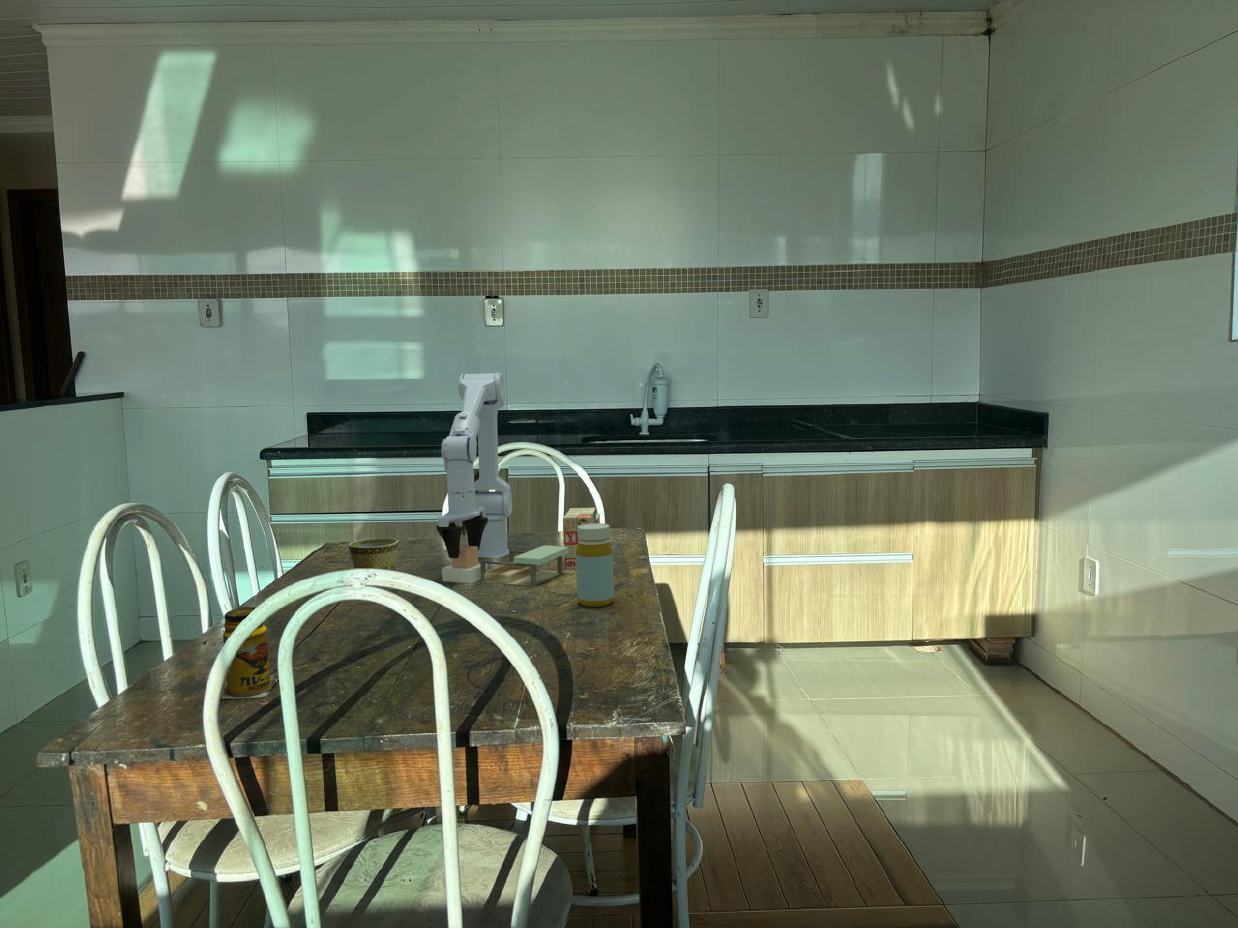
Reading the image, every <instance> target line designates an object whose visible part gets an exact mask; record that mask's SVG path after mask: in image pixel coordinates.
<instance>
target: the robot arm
mask: <svg viewBox="0 0 1238 928" xmlns="http://www.w3.org/2000/svg"><path fill="white" fill-rule="evenodd" d="M457 384H458V385H457V386H458V388H457V389H458V394H459V397H460V398H461V401H462V405H461V406H462V407H461V410H460V411H461V412H459V413H457V414H456V415H455V416H454V420H453V421H452V425H451V428H450V430H449V431H450V432H449V435H447V436H446V438H443V439H442V443H441V458H442V460H443V468H444V469H443V470H444V471H445V472H446V483H447V485H446V487H447V488H446V489H447V504H448V505H447V506H448V512H446V513H445V514H443V515H441V516H439V517H437V520H438V521H437V522H438V524H437V525H436V532H438V534H439V535H440V537H441V538H442V541H443V542H444V546H445V548H446V552H447V555H448V558H449V559H452V558H459V552H460V546H461V545H460V544H461V538H462V537H461V536H462V533H463V531H464V530H463V529H464V528H465V540H466V541H465V542H466V545H465V546H476V547H478V558H485V559H487V558H489V559H499V558H502V557H505V556H509V550H510V549H508V535H507V534H508V531H507V528H508V527H507V518H508V517H510V515H511V514H512V513H513V512H512V511H513V495H512V490H511V488H512V487H511V485H510V484H509V483H508V482H507V481H505V480H504V479H502V478H501V477H500V476H499V475H500V474H499V438H498V437H499V436H498V413H499V410H500V409H501V408H504V407H505V402H506V387H505V379H504V377H503V375H502V373H501V372H499V371H498V372H494V373H493V372H492V373H490V372H489V373H461V375H460V376H459V377H458V383H457ZM477 447H478V450H477ZM477 451H478V454H477ZM477 456H478V479H477V480H475V470H474V462H475V461H476V458H477ZM493 490H494V491H493ZM461 522H463V525H464V526H459V525H458V523H461Z"/></svg>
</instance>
